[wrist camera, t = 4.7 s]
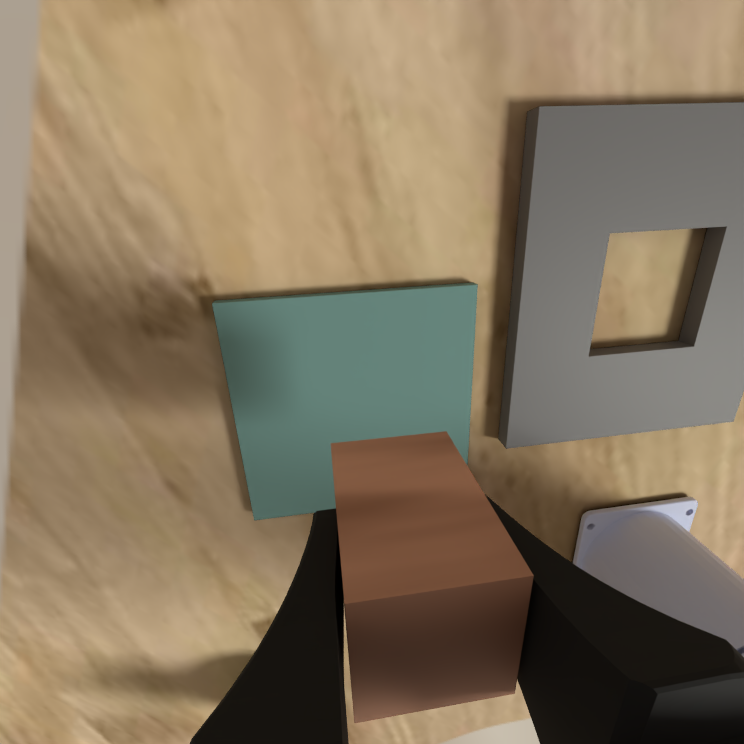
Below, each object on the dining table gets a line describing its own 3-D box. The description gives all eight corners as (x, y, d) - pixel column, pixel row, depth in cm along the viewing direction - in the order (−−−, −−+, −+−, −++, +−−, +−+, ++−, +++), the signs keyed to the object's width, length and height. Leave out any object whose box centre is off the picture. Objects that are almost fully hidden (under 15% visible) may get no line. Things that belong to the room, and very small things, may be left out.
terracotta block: (442, 521, 16) (514, 693, 10) (338, 535, 15) (354, 723, 10) (446, 431, 14) (533, 575, 9) (330, 443, 14) (344, 603, 8)
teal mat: (462, 486, 24) (465, 492, 24) (255, 512, 23) (254, 520, 22) (472, 282, 20) (477, 284, 19) (215, 300, 18) (212, 303, 18)
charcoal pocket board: (717, 413, 25) (733, 421, 24) (498, 439, 23) (506, 448, 22) (815, 105, 19) (841, 100, 18) (527, 111, 17) (539, 106, 16)
